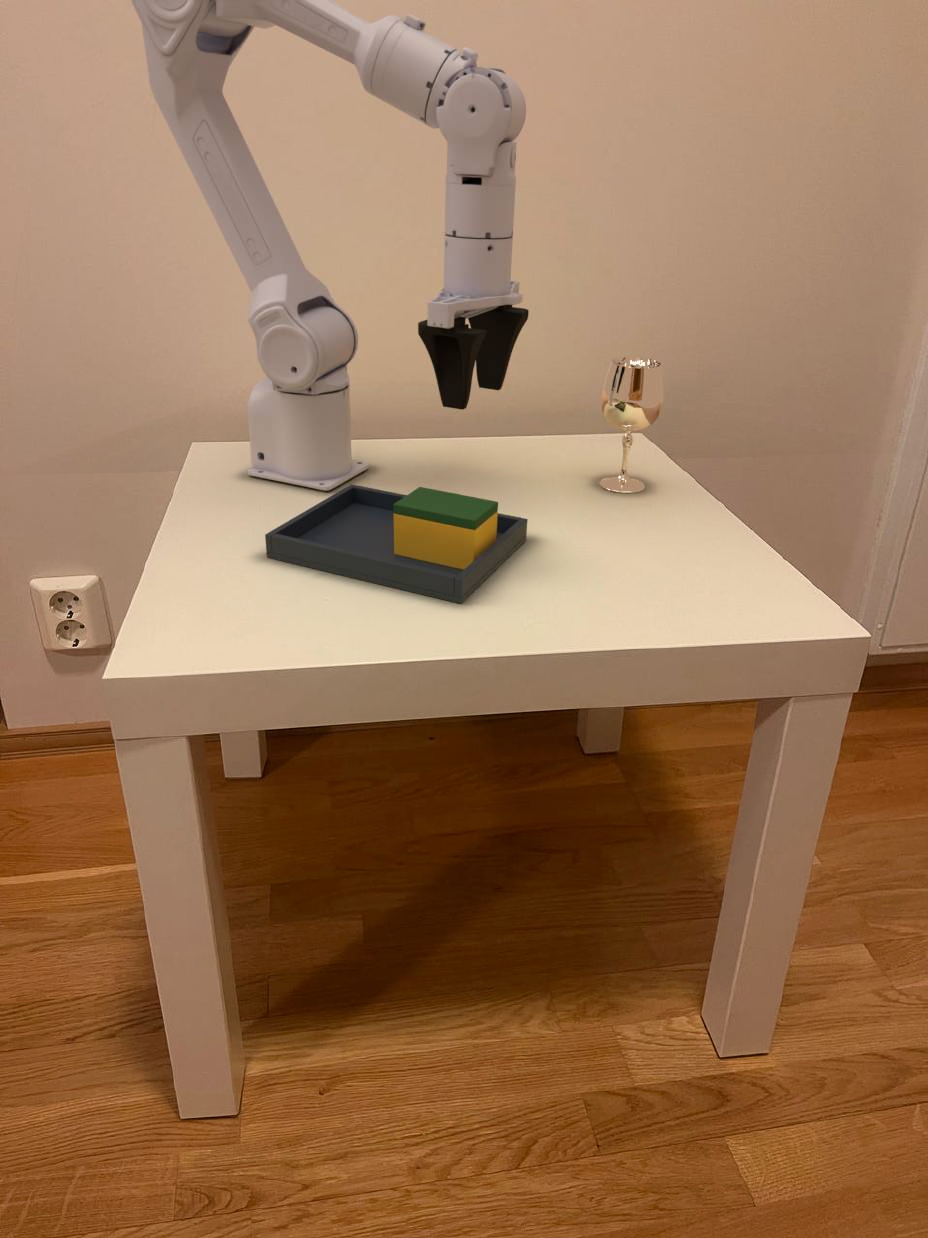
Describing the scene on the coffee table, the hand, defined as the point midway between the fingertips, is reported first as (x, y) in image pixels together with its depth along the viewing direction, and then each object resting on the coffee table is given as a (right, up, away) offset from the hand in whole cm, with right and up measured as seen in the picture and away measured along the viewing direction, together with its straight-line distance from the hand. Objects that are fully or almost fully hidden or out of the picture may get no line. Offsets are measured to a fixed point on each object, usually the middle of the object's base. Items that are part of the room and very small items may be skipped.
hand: (472, 397), depth 82 cm
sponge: (-2, -15, -9) cm, 17 cm away
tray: (-6, -14, -7) cm, 17 cm away
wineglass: (+15, -7, +8) cm, 18 cm away
